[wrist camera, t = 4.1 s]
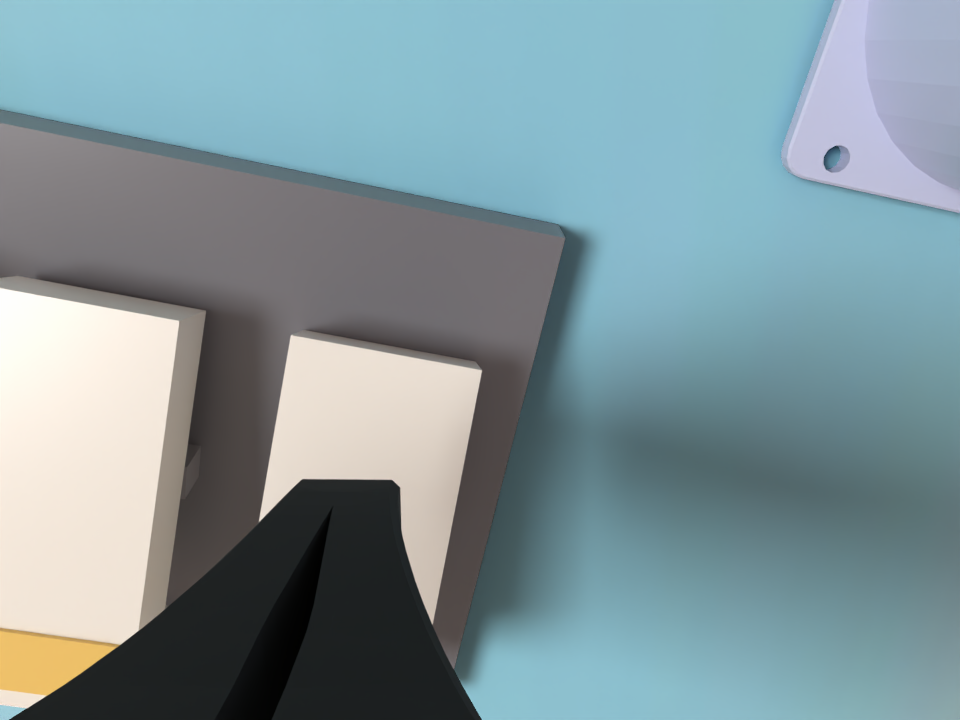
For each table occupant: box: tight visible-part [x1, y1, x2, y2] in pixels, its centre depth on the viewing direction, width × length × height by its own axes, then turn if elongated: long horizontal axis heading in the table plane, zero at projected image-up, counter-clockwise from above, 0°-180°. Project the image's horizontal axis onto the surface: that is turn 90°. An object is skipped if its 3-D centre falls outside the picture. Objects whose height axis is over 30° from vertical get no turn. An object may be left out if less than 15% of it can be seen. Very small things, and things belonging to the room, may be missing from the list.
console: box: [0, 110, 565, 669], centre depth 16 cm, size 17×13×2 cm
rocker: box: [259, 330, 482, 625], centre depth 15 cm, size 4×8×2 cm, turn 168°
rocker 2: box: [0, 276, 206, 708], centre depth 14 cm, size 4×8×2 cm, turn 168°
